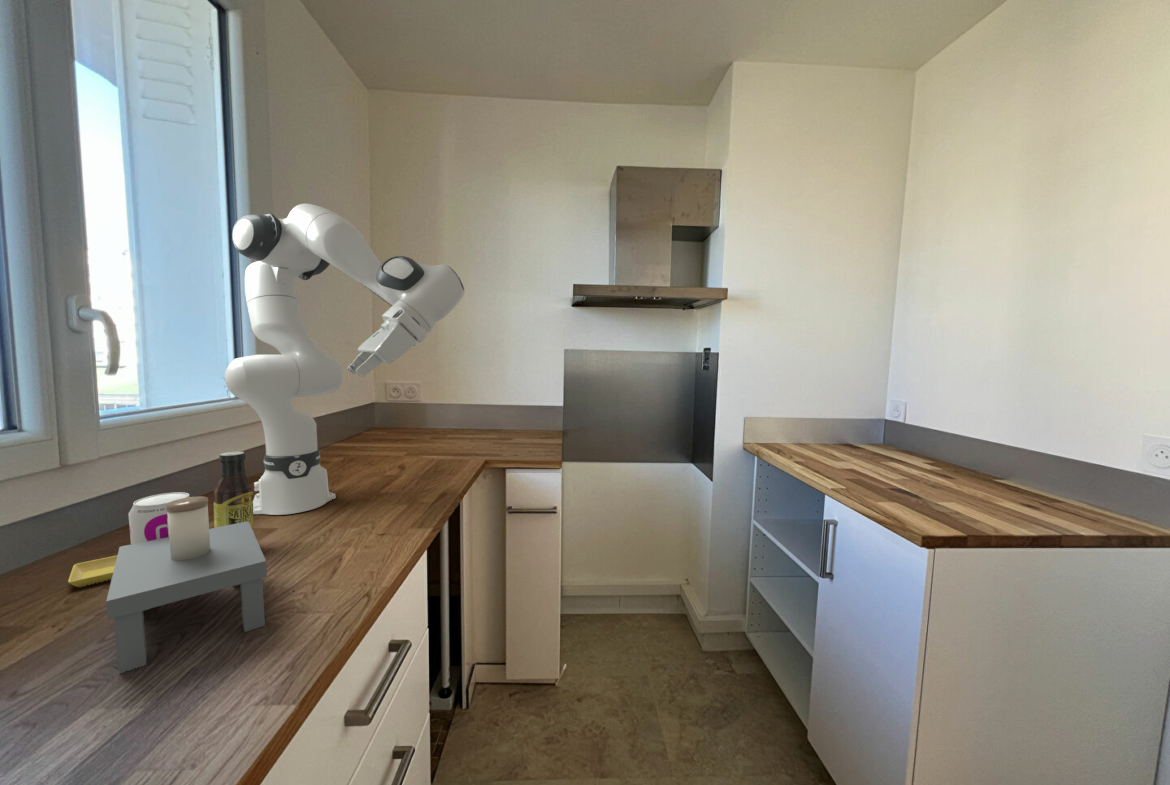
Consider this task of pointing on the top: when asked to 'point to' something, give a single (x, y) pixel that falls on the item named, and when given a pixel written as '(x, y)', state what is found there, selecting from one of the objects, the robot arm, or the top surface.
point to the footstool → (182, 583)
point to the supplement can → (151, 517)
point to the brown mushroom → (188, 527)
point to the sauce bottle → (233, 492)
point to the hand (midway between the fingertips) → (354, 373)
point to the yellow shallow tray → (92, 571)
